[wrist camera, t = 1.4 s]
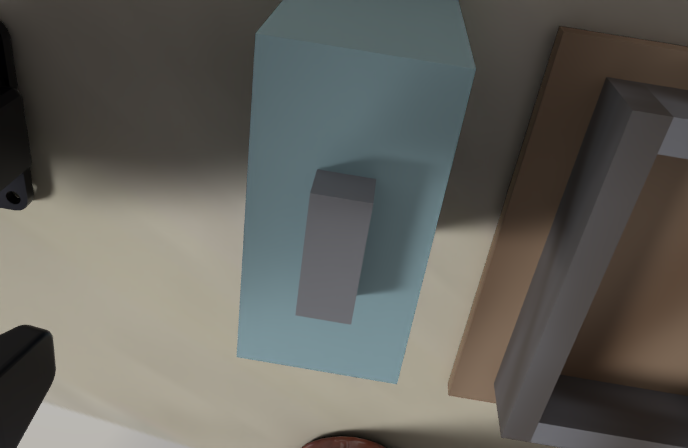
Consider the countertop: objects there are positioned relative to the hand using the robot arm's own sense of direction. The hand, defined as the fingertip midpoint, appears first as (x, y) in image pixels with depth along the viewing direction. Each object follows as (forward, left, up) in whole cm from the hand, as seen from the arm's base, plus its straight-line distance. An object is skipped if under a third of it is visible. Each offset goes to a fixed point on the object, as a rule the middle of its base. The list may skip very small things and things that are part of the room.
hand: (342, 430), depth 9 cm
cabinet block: (-1, 0, -12) cm, 12 cm away
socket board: (+10, -4, -12) cm, 16 cm away
